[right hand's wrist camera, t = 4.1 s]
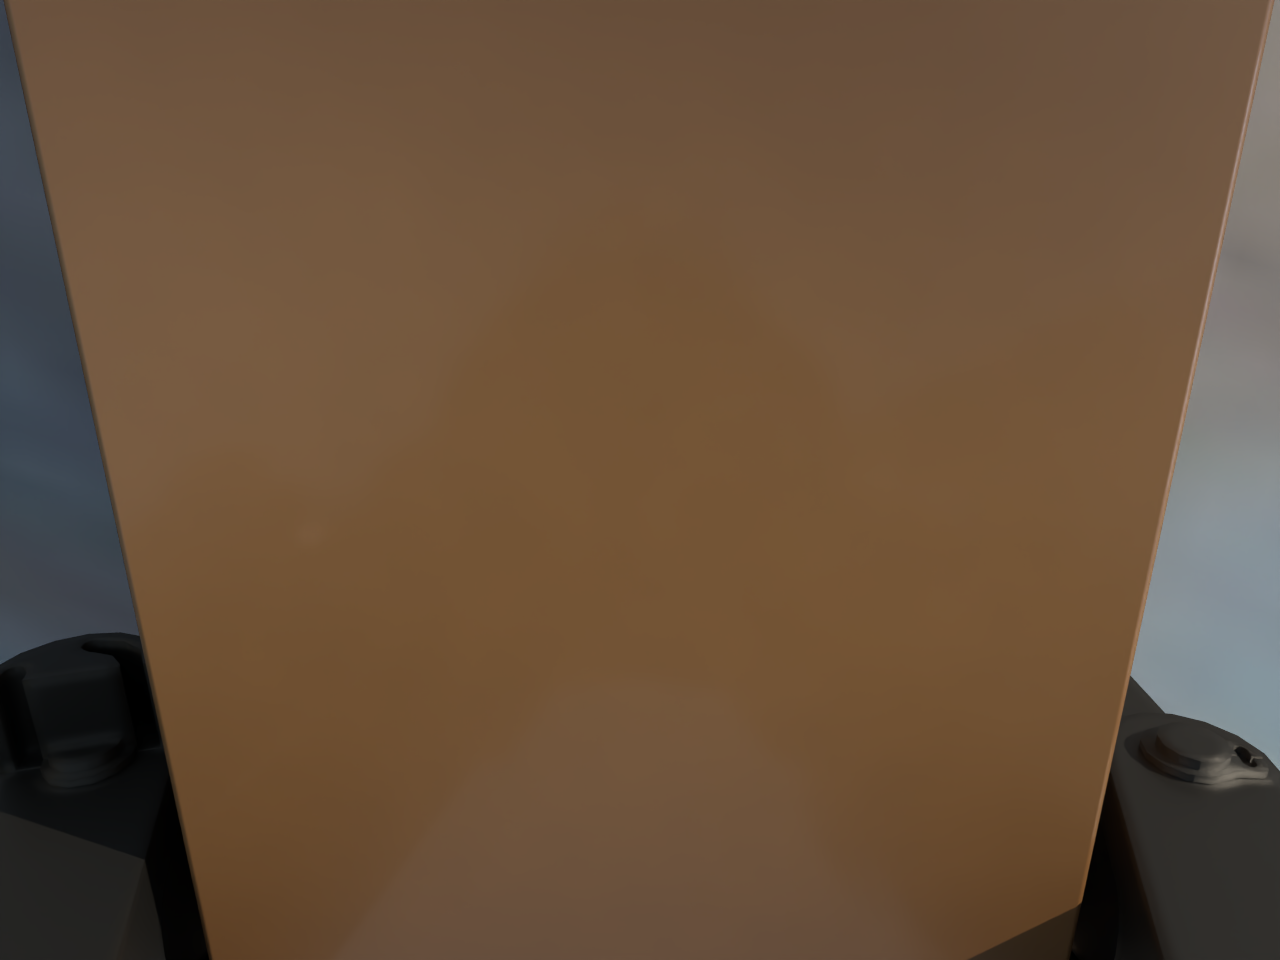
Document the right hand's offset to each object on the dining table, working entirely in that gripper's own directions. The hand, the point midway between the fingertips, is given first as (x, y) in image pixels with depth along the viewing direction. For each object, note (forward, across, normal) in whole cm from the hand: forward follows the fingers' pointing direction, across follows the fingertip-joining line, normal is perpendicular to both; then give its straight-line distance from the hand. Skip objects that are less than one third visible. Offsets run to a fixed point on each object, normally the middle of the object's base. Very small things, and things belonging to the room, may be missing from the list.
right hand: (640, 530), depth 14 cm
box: (+1, 0, -8) cm, 8 cm away
